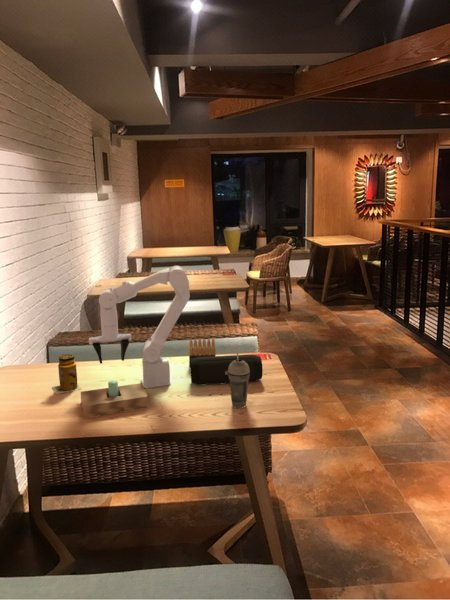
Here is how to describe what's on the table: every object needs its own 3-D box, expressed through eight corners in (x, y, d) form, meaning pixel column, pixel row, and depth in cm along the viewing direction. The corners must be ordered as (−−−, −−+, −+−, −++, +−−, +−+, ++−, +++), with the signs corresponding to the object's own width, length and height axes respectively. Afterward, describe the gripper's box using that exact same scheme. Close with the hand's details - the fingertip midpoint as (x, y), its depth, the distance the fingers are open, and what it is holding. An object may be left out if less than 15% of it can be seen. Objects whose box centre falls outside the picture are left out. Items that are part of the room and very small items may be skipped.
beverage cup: (234, 412, 156) (234, 351, 152) (223, 403, 163) (223, 345, 158) (254, 407, 160) (254, 348, 155) (243, 399, 166) (243, 342, 162)
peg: (117, 402, 164) (115, 379, 163) (120, 405, 162) (118, 382, 160) (108, 404, 163) (106, 381, 161) (111, 408, 160) (109, 384, 159)
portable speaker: (191, 389, 175) (191, 362, 173) (190, 379, 185) (189, 353, 182) (262, 385, 178) (263, 359, 176) (258, 375, 187) (258, 350, 185)
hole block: (141, 394, 171) (140, 383, 170) (148, 407, 160) (147, 396, 159) (81, 403, 164) (80, 391, 164) (84, 418, 153) (83, 406, 153)
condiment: (81, 389, 176) (78, 357, 174) (57, 394, 172) (54, 361, 169) (75, 382, 182) (72, 351, 180) (51, 387, 178) (48, 356, 175)
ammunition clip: (189, 367, 196) (188, 338, 193) (189, 366, 198) (188, 337, 195) (216, 367, 196) (215, 338, 194) (216, 365, 198) (215, 336, 196)
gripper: (128, 319, 180) (130, 355, 183) (87, 323, 175) (89, 360, 178) (131, 324, 173) (133, 361, 176) (89, 328, 168) (91, 366, 171)
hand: (111, 361), depth 177 cm, fingers open, 7 cm apart
